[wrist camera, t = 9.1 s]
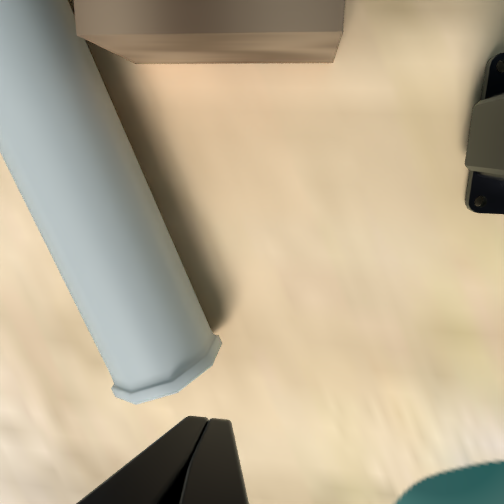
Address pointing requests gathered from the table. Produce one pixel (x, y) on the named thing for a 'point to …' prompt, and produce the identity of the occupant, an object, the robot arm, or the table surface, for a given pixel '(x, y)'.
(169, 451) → the robot arm
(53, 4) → the tube
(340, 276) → the table surface
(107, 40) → the walnut block
